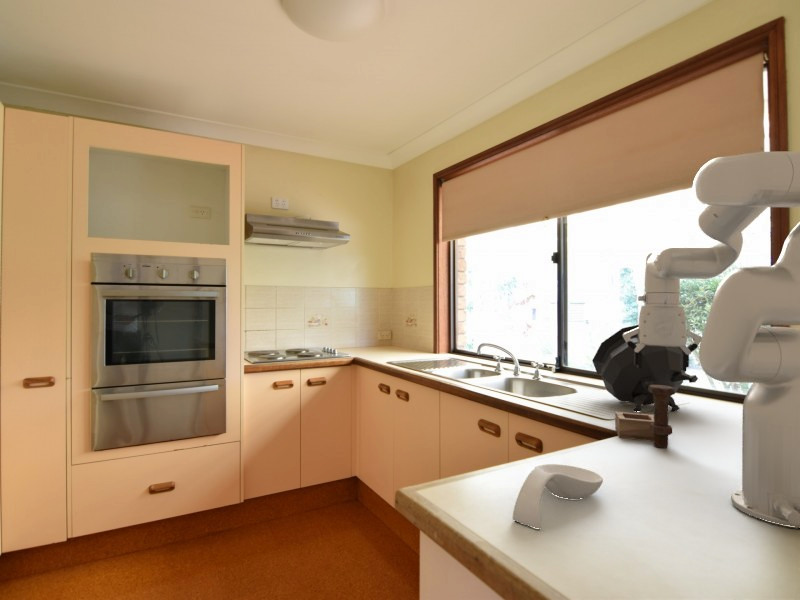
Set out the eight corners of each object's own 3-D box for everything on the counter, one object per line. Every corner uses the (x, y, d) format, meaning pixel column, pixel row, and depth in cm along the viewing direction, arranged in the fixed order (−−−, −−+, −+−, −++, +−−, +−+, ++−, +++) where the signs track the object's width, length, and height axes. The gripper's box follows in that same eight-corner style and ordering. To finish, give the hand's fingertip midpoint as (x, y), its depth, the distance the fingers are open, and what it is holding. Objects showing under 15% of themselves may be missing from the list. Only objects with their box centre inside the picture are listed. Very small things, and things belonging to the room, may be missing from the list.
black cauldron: (612, 402, 139) (575, 348, 158) (640, 436, 155) (603, 383, 174) (697, 353, 132) (647, 303, 151) (718, 395, 147) (670, 344, 166)
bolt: (676, 451, 108) (677, 389, 108) (653, 449, 109) (654, 388, 109) (667, 444, 114) (667, 384, 114) (645, 442, 115) (646, 383, 115)
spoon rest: (549, 476, 92) (550, 441, 92) (610, 492, 85) (611, 454, 85) (493, 517, 74) (494, 474, 74) (564, 542, 67) (564, 494, 67)
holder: (659, 441, 116) (660, 422, 116) (619, 437, 119) (619, 418, 119) (653, 432, 124) (653, 414, 124) (615, 429, 127) (615, 411, 127)
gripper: (625, 300, 111) (624, 369, 111) (707, 300, 105) (706, 373, 105) (621, 299, 118) (620, 364, 118) (697, 300, 112) (696, 368, 113)
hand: (660, 368), depth 112 cm, fingers open, 9 cm apart
